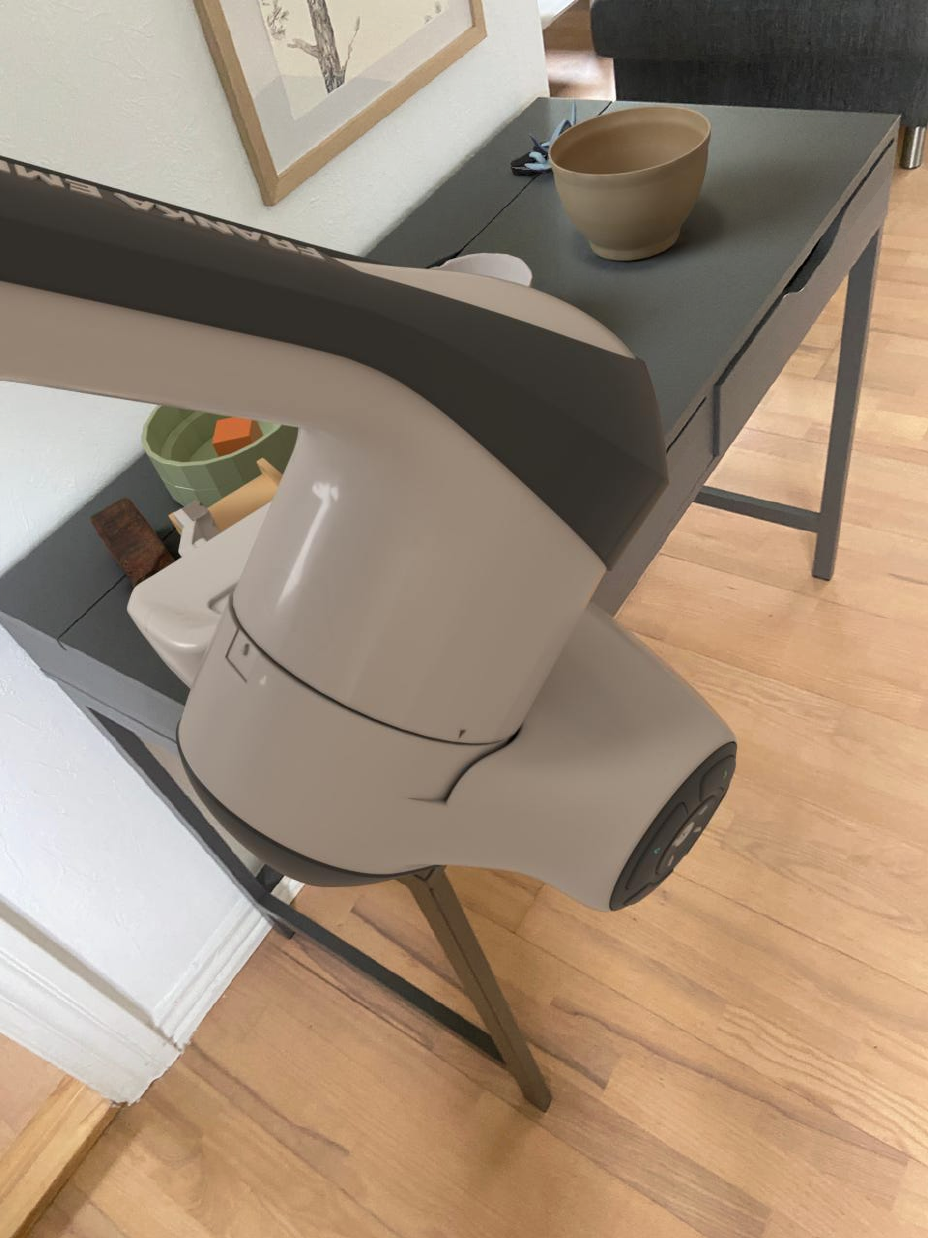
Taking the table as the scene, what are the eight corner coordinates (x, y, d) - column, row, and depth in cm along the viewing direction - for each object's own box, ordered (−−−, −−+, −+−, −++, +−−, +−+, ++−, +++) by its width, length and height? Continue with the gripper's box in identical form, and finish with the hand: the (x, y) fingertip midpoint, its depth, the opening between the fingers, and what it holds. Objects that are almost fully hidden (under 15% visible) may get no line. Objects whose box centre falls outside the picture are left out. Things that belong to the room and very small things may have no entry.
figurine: (587, 194, 112) (567, 136, 106) (510, 194, 119) (487, 140, 113) (623, 143, 115) (605, 83, 109) (546, 146, 122) (525, 90, 116)
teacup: (570, 338, 90) (559, 262, 84) (488, 409, 85) (471, 334, 79) (458, 307, 98) (441, 236, 93) (378, 370, 93) (355, 299, 88)
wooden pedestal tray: (366, 617, 71) (316, 503, 62) (280, 678, 68) (216, 568, 60) (315, 568, 76) (262, 456, 67) (233, 623, 73) (167, 515, 65)
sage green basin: (140, 502, 87) (109, 452, 83) (230, 406, 95) (206, 356, 91) (263, 528, 80) (236, 476, 76) (348, 423, 88) (329, 370, 84)
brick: (112, 554, 83) (85, 516, 79) (151, 531, 84) (126, 493, 80) (153, 616, 76) (126, 578, 72) (195, 591, 77) (170, 552, 73)
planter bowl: (725, 261, 93) (725, 152, 85) (567, 291, 96) (553, 188, 88) (698, 192, 104) (696, 90, 96) (557, 221, 107) (543, 124, 99)
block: (227, 473, 86) (263, 466, 86) (211, 443, 84) (249, 435, 83) (231, 450, 89) (267, 442, 88) (216, 420, 86) (253, 412, 86)
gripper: (581, 419, 41) (407, 323, 49) (184, 689, 35) (64, 526, 43) (595, 523, 45) (433, 419, 54) (246, 776, 39) (127, 614, 48)
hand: (266, 468), depth 48 cm, fingers open, 8 cm apart
